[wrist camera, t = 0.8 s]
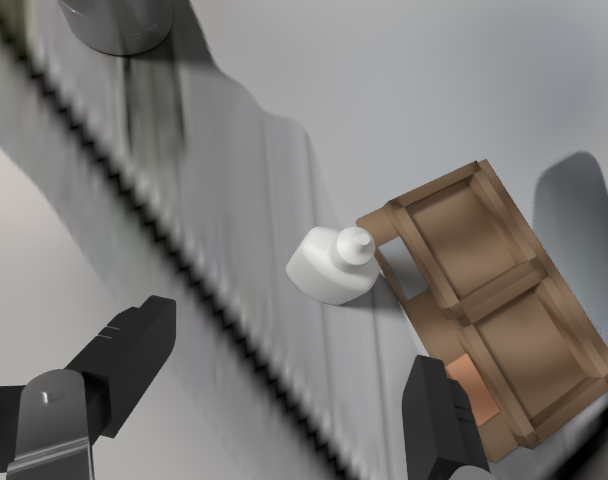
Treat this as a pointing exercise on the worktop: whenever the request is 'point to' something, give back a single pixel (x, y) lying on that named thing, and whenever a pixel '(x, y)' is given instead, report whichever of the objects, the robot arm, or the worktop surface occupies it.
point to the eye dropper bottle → (334, 264)
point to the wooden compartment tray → (490, 306)
